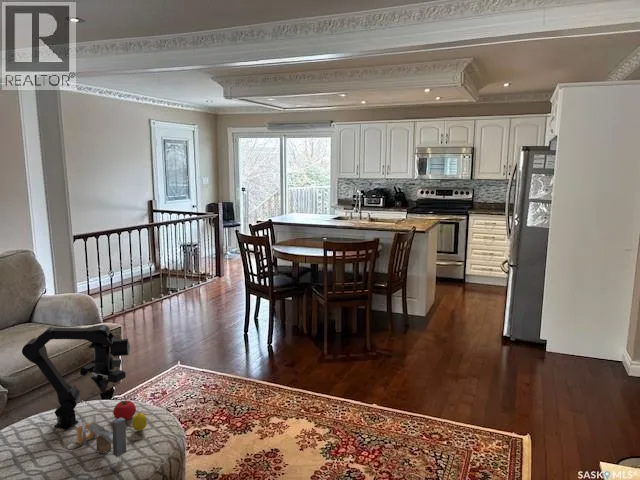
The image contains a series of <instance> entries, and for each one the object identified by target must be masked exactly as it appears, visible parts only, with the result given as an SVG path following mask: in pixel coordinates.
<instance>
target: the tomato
mask: <svg viewBox="0 0 640 480" xmlns="http://www.w3.org/2000/svg"><path fill="white" fill-rule="evenodd" d="M136 411H137V407H136V405H135V403H134V402H133V401H131V400H121V401H119V402H118V403H116V405H115V406H114V408H113V417H114V418H115V420H116V419H118V418H121V417H122V418H124V419H125V422H126V421H129V420H131V419H133V417H134V416H135V415H136Z"/></svg>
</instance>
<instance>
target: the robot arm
mask: <svg viewBox="0 0 640 480" xmlns="http://www.w3.org/2000/svg"><path fill="white" fill-rule="evenodd" d="M51 340H80V341H81V340H84V341H88V342H90V343H89V345H88V347H87V348H88V349H93V352H94V353H93V355H94V359H92V361H91V363H89V364H87V365H84V366H83V367H81V369H80V370H79V374H80V375H81V376H87V375H88V372H89V373H91V374H92V376H91V378H90V379H91V380H93V382H94V383H95V385H96V386H97V388H98V389H99V391H101V393H102V394H104V393H106V391H107V387H108V385H109V383H113V384H115V383H118V382H120V381H122V380H124V379H126V377H127V376H126V374H127V373H126V371H124V370H120V369H116V370H115V368H121V364H122V361H123V360H122V359H120V358H117V357H125V356H127V357H128V356H129V355H130V351H131V349H130V348H131V345H130V342H129V338H123V339H121V338H120V339H117V337H116V336H115V335H114V334H113V333H112V332H111V329H110V327H108V325H106V324H98V325H93V326H92V325H91V326H89V327H54V326H49V327H47V329H46V330H45V331H43V332H42V333H41V334H40V335H39V336H37V337H33V338H31V339H29V340H28V341H27V342H26V344H25V345H24V346H23V347H22V350H21V354H22V355H23V356H24V357H25V358H26V359H27V360H28V361H29V362H30V363H33V364H35V365H36V366H37V367H38V369H39V370H40V372H41V373H42V374H43V376H44V377H45V379H46V380H47V382H48V383H49V384H50V385H51V387H52V388H53V390H54V391H55V392H56V396H57V401H58V403H59V404H58V405H57V408H56V409H55V410H54V414H55V416H56V421H57V423H56V424H54V425H53V427H54V428H57V429H60V430H65V431H67V430H69V429H70V428H72V427H73V426H75V425H77V424H78V423H79V420H77V419H76V418H77V417H76V411H75V408H76V407H77V406H78V404H79V401H80V398H81V390H79V389H78V387H77V386H76V384H73V385H70V384H68V383H67V381H66V380H65V379H64V377H63V376H62V375H61V373H60V372H59V370H58V369H57V367H56V366H55V364H54V363H53V362H52V360H51V359H50V358H49V356H48V350H47V347H46V345H47V344H48V343H49V341H51ZM112 356H113V357H112Z"/></svg>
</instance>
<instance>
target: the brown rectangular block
mask: <svg viewBox="0 0 640 480" xmlns="http://www.w3.org/2000/svg"><path fill="white" fill-rule="evenodd" d="M95 440H96V442H95V443H96V452H97V451H99V452H100V453H103V452H105V451H107V450H109V449H111V450H112V444H111V443H110V442H108V441H107V440H105V439H104V438H102V437H101V436H99V435H97V437H96V439H95ZM109 451H110V450H109ZM99 452H98V453H99ZM107 452H108V451H107ZM100 453H99V454H100ZM105 453H106V452H105ZM103 454H104V453H103Z"/></svg>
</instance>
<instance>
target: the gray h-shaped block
mask: <svg viewBox="0 0 640 480" xmlns="http://www.w3.org/2000/svg"><path fill="white" fill-rule="evenodd" d="M89 426H90V430H91V431H93V432H95V433H96V434H97V436H101V437H102V438H104V439H105V440H107V441H108V442H110V443H111V445H112V449H113V450H112V452H113V456H115V457H116V458H118V457H120V456H122V455H124V454H126V453H127V431H126V428H127V427H126V421H125V419H124V418H122V417H121V418H118V419H116V418H115V419H114V420H112V421H111V427H112V431H109V430H108V429H106V428H104V427H103V426H102V425H99V423H97V422H96V423H95V422H94V423H92V424H89Z"/></svg>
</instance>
